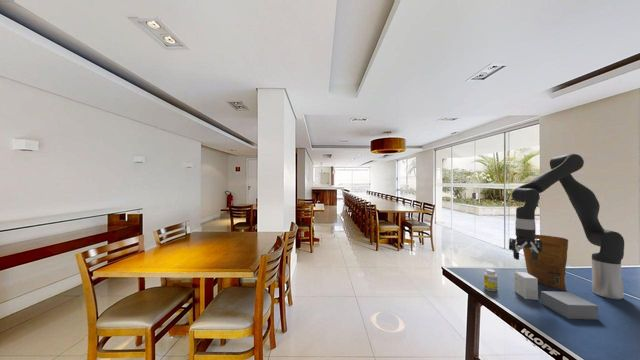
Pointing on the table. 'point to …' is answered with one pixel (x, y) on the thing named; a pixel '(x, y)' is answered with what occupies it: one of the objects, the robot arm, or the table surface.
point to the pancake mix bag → (549, 261)
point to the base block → (569, 305)
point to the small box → (526, 285)
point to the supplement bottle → (490, 280)
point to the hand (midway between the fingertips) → (525, 259)
